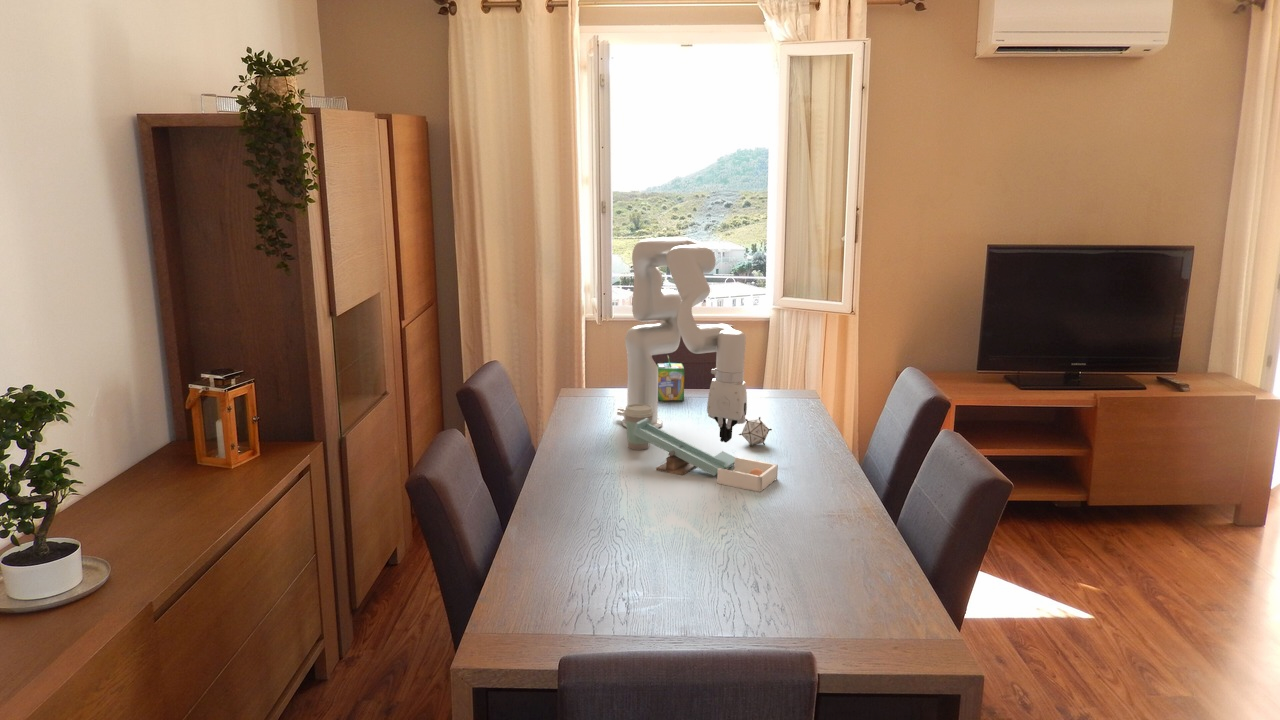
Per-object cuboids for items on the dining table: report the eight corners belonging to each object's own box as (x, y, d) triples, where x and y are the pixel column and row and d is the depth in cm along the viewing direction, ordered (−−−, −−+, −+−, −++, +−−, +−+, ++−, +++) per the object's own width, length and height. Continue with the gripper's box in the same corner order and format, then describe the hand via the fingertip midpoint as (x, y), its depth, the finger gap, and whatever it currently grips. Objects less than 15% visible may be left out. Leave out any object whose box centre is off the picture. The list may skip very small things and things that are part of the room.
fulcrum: (656, 469, 255) (656, 456, 254) (673, 459, 264) (673, 446, 263) (682, 475, 251) (682, 461, 250) (699, 464, 260) (699, 451, 259)
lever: (629, 435, 258) (633, 424, 257) (656, 421, 271) (660, 411, 270) (713, 478, 247) (717, 467, 246) (737, 462, 261) (741, 451, 259)
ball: (744, 476, 246) (753, 467, 244) (750, 472, 249) (758, 464, 247) (754, 486, 245) (762, 478, 243) (759, 482, 248) (768, 474, 246)
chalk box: (684, 401, 325) (685, 359, 321) (657, 401, 325) (658, 358, 321) (682, 394, 334) (683, 353, 330) (656, 394, 334) (657, 353, 330)
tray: (717, 483, 246) (717, 468, 245) (735, 470, 256) (735, 456, 255) (760, 492, 240) (760, 477, 239) (777, 479, 250) (777, 464, 249)
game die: (760, 458, 278) (773, 438, 271) (733, 448, 277) (746, 427, 270) (763, 436, 284) (777, 416, 277) (737, 426, 284) (750, 405, 277)
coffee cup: (654, 443, 278) (655, 403, 276) (651, 452, 270) (652, 411, 267) (625, 441, 279) (626, 402, 276) (622, 450, 271) (622, 410, 268)
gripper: (698, 374, 255) (694, 439, 259) (749, 383, 248) (745, 450, 252) (710, 368, 261) (706, 432, 266) (760, 377, 254) (756, 442, 259)
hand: (725, 440), depth 259 cm, fingers closed
